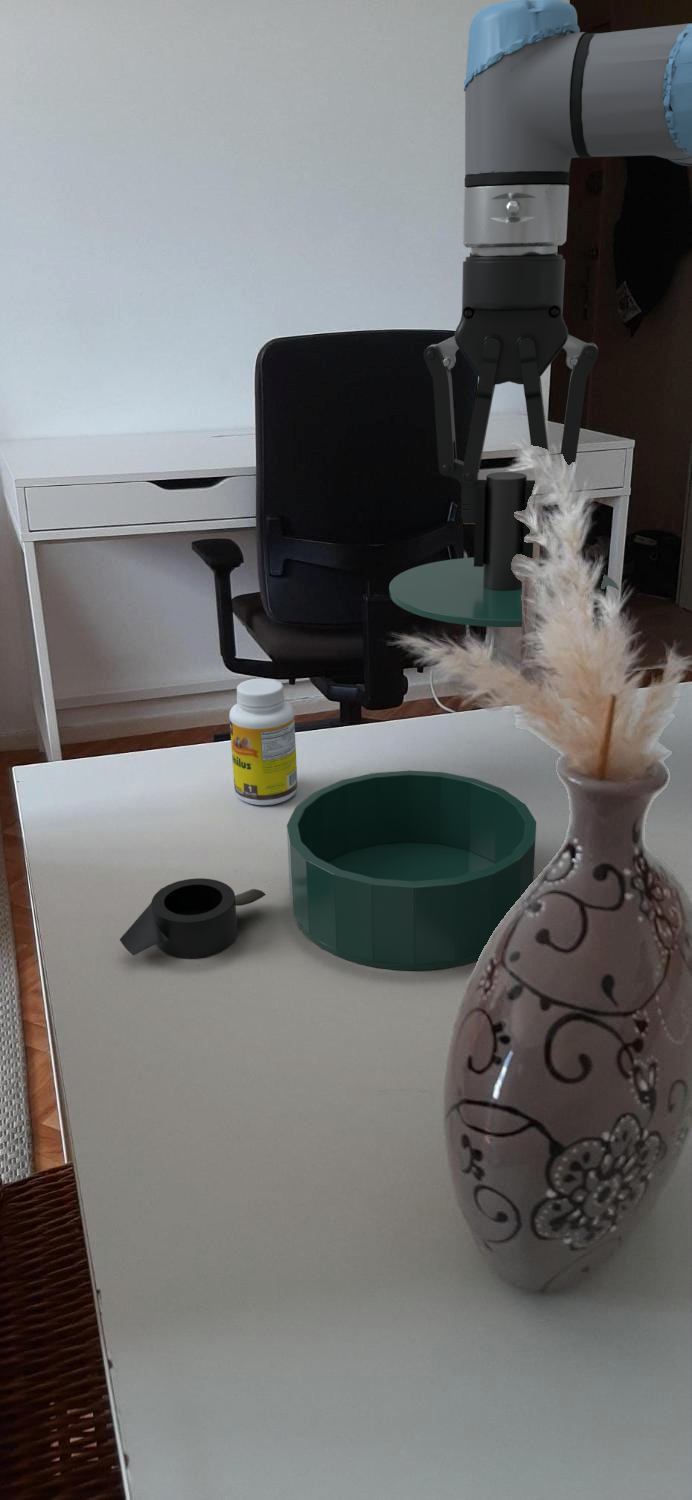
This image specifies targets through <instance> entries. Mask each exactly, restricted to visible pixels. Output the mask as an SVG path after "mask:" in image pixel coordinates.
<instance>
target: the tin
mask: <svg viewBox="0 0 692 1500" xmlns="http://www.w3.org/2000/svg"><path fill="white" fill-rule="evenodd" d="M286 836H287V856H288V857H287V858H288V877H289V896H290V901H291V911H292V916H293V918H294V921H295V923H296V925H297V927H298V928H299V929H300V931H301V932H302V933H303V935H305V937H306V938H308V939H309V940H310V941H311V942H313V944H315V945H316V946H318V947H319V948H321V949H323V950H324V951H327V952H328V953H330V954H332V955H334V956H337V957H339V958H342V959H344V960H346V961H349V962H352V963H356V964H360V965H363V966H364V965H365V966H368V967H373V968H378V969H379V968H380V969H387V970H393V971H394V970H395V971H396V970H397V971H430V970H432V971H433V970H439V969H447V968H453V967H458V966H463V965H467V964H470V963H472V962H473V963H475V962H478V961H479V960H478V958H479V956H480V954H481V952H482V950H483V948H484V946H485V945H486V944H487V942H488V940H489V938H490V936H491V935H492V933H493V931H494V930H495V928H496V927H497V926H498V924H499V923H500V921H501V920H502V919H503V918H504V916H505V915H506V913H507V912H508V911H509V910H510V908H511V907H512V906H513V905H514V904H515V902H516V901H517V900H518V899H519V898H520V897H521V895H522V894H523V893H524V892H525V890H526V889H527V888H528V886H529V885H530V884H531V883H532V882H533V881H534V880H535V860H536V843H537V841H536V839H537V820H536V819H535V817H534V816H533V814H532V812H531V810H530V809H529V807H528V805H527V804H526V803H524V802H522V801H521V799H519V798H517V797H516V796H514V795H512V793H510V792H508V791H507V790H506V789H503V788H501V787H499V786H496V785H493V784H492V783H491V784H490V783H488V782H486V781H483V780H481V779H478V778H473V777H468V776H463V775H458V774H453V773H449V772H443V771H428V770H427V771H426V770H412V769H411V770H409V769H408V770H398V771H397V770H395V771H385V772H383V771H382V772H372V773H367V774H362V775H359V776H353V777H349V778H346V779H341V780H339V781H337V782H335V783H332V784H330V785H327V786H324V787H323V788H320V789H318V790H316V791H314V792H313V793H312V794H310V795H309V796H307V797H306V798H305V799H303V800H302V801H301V802H300V803H299V804H297V806H295V808H294V809H293V812H292V813H291V815H290V817H289V820H288V821H287V824H286ZM534 882H535V881H534Z"/></svg>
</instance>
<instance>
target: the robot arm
mask: <svg viewBox="0 0 692 1500" xmlns="http://www.w3.org/2000/svg"><path fill="white" fill-rule="evenodd" d="M580 29H581V28H580V26H579V25H578V13H577V9H576V8H575V7H574V5H573V4H571V3H570V2H567V1H564V0H507V1H503V2H497V3H494V4H490V5H487V6H485V7H483V8H481V9H480V10H479V11H478V12H476V14H475V15H474V16H473V18H472V20H471V22H470V25H469V30H468V42H467V43H468V45H467V57H466V58H467V59H466V72H465V79H464V81H463V92H464V107H465V108H464V111H465V112H464V115H465V116H464V129H465V130H464V133H465V134H464V137H465V138H464V158H465V159H464V175H465V176H464V189H463V227H462V228H463V235H462V238H463V239H462V244H463V245H464V247H465V248H467V249H468V248H469V249H470V252H469V256H466V257H465V260H464V261H462V287H461V289H462V291H461V294H462V295H461V316H460V321H459V323H458V325H457V326H456V329H455V330H454V331H455V332H454V336H452V337H449V338H447V339H445V340H443V341H441V342H439V343H432V344H431V345H429V346H427V348H425V350H424V351H423V359H424V361H425V364H426V366H427V369H428V371H429V373H430V376H431V378H432V387H433V400H434V401H433V402H434V415H435V429H436V431H435V432H436V446H437V460H438V471H439V473H440V475H442V476H443V477H450V478H452V479H454V480H457V481H458V482H459V484H460V486H461V504H460V505H461V506H460V507H461V512H460V517H461V520H462V523H463V524H465V525H466V524H467V525H468V524H472V525H474V543H473V545H474V547H473V548H474V550H473V557H474V567H483V565H484V547H485V510H486V479H479V474H480V467H481V463H482V457H483V453H484V447H485V442H486V436H487V431H488V425H489V421H490V416H491V408H492V404H493V398H494V393H495V389H496V385H502V384H506V383H512V384H516V385H523V393H524V398H525V407H526V415H527V424H528V431H529V432H528V433H529V440H530V446H531V445H533V446H539V447H542V448H545V449H547V450H548V451H549V450H550V448H549V441H548V431H547V425H546V415H545V405H544V398H543V397H544V395H543V387H542V378H541V377H542V376H543V374H544V373H545V372H546V370H547V369H548V368H549V366H550V365H551V364H552V362H553V361H554V360H555V358H556V357H557V356H558V355H559V353H560V352H561V350H562V349H563V350H564V351H565V352H566V358H565V363H566V364H565V365H566V366H567V367H568V368H569V369H570V370H571V373H570V379H569V385H568V393H567V401H566V408H565V416H564V421H563V423H564V424H563V432H562V439H561V446H560V453H559V454H563V456H564V459H565V461H566V462H567V464H568V465H570V464H571V463H572V462H575V463H576V462H577V453H578V446H579V439H580V431H581V425H582V417H583V410H584V402H585V395H586V389H587V388H586V387H587V381H588V377H589V375H590V373H591V371H592V369H593V367H594V366H595V363H596V362H597V360H598V357H599V348H598V346H597V344H595V343H594V342H586V341H583V340H581V339H579V338H577V337H575V336H573V335H571V334H569V329H568V326H567V324H566V322H565V319H564V314H563V313H564V293H565V291H564V290H565V271H566V259H565V258H563V257H564V256H563V254H558V246H563V245H564V244H565V243H566V242H567V233H568V232H567V231H568V215H569V214H568V213H569V195H570V185H569V184H570V174H571V173H570V168H571V162H572V159H577V158H578V159H592V158H604V157H605V158H606V157H607V158H609V157H638V156H639V157H640V156H641V157H642V156H654V157H658V158H662V159H667V160H668V161H670V162H672V163H674V164H676V165H680V166H685V167H692V23H683V24H674V25H673V24H672V25H663V26H655V27H646V28H636V29H627V30H619V31H610V32H600V33H598V32H591V33H590V32H589V33H588V32H586V31H583V32H582V31H581V30H580ZM458 350H460V352H461V353H462V355H463V356H464V358H465V359H466V361H467V362H468V364H469V366H471V368H472V369H473V371H474V372H475V375H477V377H478V379H477V380H478V381H477V386H476V392H475V398H474V405H473V411H472V415H471V422H470V426H469V431H468V432H469V433H468V438H467V443H466V450H465V454H464V460H463V461H462V460H460V459H457V442H456V427H455V410H454V393H453V377H452V373H451V370H452V369H453V368H454V366H455V365H456V363H457V359H456V358H457V357H456V353H457V351H458ZM549 452H550V451H549ZM534 484H535V479H533V480H532V479H527V484H526V488H525V509H526V507H527V502H528V499H529V497H530V496H531V494H532V490H533V487H534ZM529 533H530V529H529V528H528V527H527V526H526V525H525V524H524V537H525V536H526V535H527V534H529ZM523 555H525V556H527V557H530V558H534V543H526V542H524V538H523Z"/></svg>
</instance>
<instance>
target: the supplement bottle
mask: <svg viewBox="0 0 692 1500" xmlns="http://www.w3.org/2000/svg"><path fill="white" fill-rule="evenodd" d="M236 701H237V703H236V704H234V705H233V706H232V707H231V709H230V711H229V714H228V715H229V717H228V718H229V731H230V745H231V746H230V747H231V759H232V773H233V774H232V775H233V785H234V793H235V795H236V796H237V797H238V798H239V799H240V800H241V801H243V802H245V803H247V804H251V805H255V806H272V805H277V804H281V803H283V802H286V801H288V800H290V799H291V798H292V797H293V796H294V795H295V794H296V792H297V791H298V768H297V745H296V727H295V726H296V725H295V724H296V723H295V711H294V707H293V706H292V705H291V704H290V703H289V702H287V701H286V700H285V694H284V685H283V683H282V682H281V681H279V680H276V679H273V678H266V677H265V678H252V679H247V680H244V681H242V682H240V683H239V684H238V685H237V686H236Z"/></svg>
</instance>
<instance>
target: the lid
mask: <svg viewBox="0 0 692 1500" xmlns="http://www.w3.org/2000/svg"><path fill="white" fill-rule="evenodd" d="M485 477H486V478H485V480H486V510H485V547H484V565H483V567H474V556H473V557H463V558H462V557H461V558H453V559H446V560H440V561H435V562H430V563H429V562H428V563H425V564H421V565H418V566H415V567H412V568H409V569H407V570H405V571H403V572H400V573H398V575H396V576H394V577H393V579H392V580H391V581H390V583H389V586H388V594H389V598H390V600H392V602H393V603H394V604H395V605H396V606H398V607H399V608H401V609H402V610H405V611H407V612H409V613H412V614H414V615H418V616H420V617H423V618H427V619H431V620H434V621H439V622H445V623H450V624H455V625H456V624H458V625H462V626H463V625H465V626H474V627H488V628H489V627H490V628H523V627H522V601H521V595H522V582H521V581H520V580H518V579H517V578H516V577H515V575H514V574H513V572H512V570H511V562H512V559H513V557H514V556H515V555H516V554H522V555H523V538H524V523H522V522H520V521H519V520H517V519H516V518H515V517H514V512H516V511H522V510H525V488H526V484H527V480H528V475H526V474H525V473H522V472H516V471H499V472H498V471H497V472H490V473H488V474H487V475H486V476H485ZM608 585H609V586H612V587H614V588H616V589H617V590H619V591H620V589H619V586H618V584H617V583H616V581H615V580H614V579H612V578H611V577H610V576H608V575H606V574H604V576H603V581H602V584H601V589H605V587H606V586H608Z"/></svg>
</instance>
